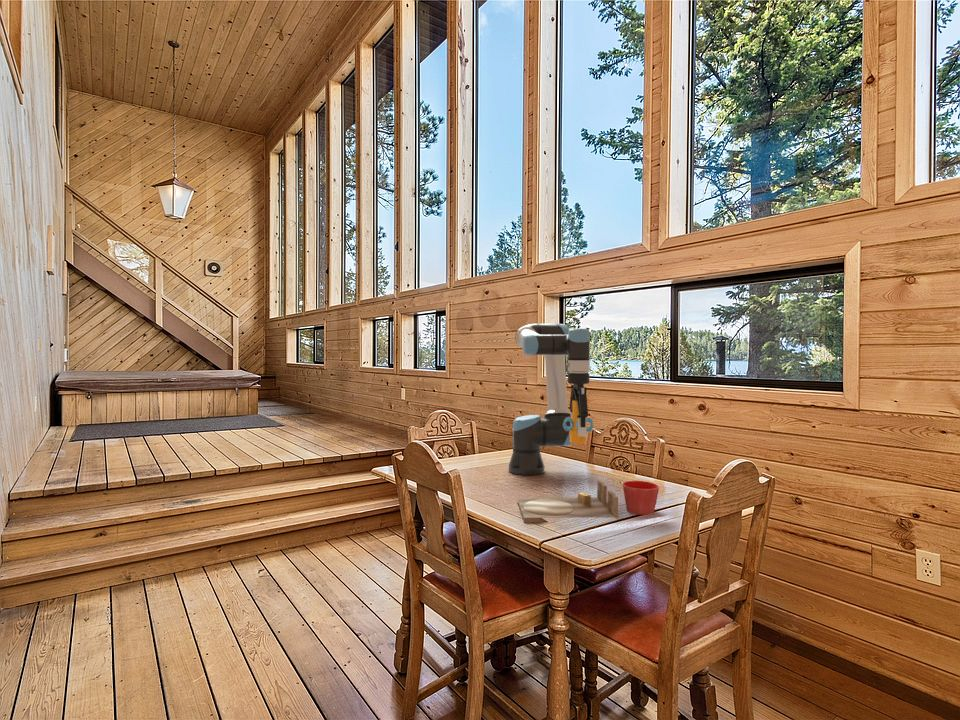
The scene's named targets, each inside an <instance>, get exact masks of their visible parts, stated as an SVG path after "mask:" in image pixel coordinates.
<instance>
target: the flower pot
mask: <svg viewBox="0 0 960 720" xmlns="http://www.w3.org/2000/svg"><path fill="white" fill-rule="evenodd" d="M622 487H623V488H622V489H623V495H624V501H625V502H624V503H625V507H626V511H627V512H629V513H632V514H635V515H645V516H646V515H648V516H649V515H653V514H654V513H655V509H656V506H657V500H658V495H659V490H660V489H659V488H660V486H659V485H658V484H657V483H654V482H651V481H650V482H649V481H643V480H628V481H624V482H622ZM647 519H649V518H647Z"/></svg>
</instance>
